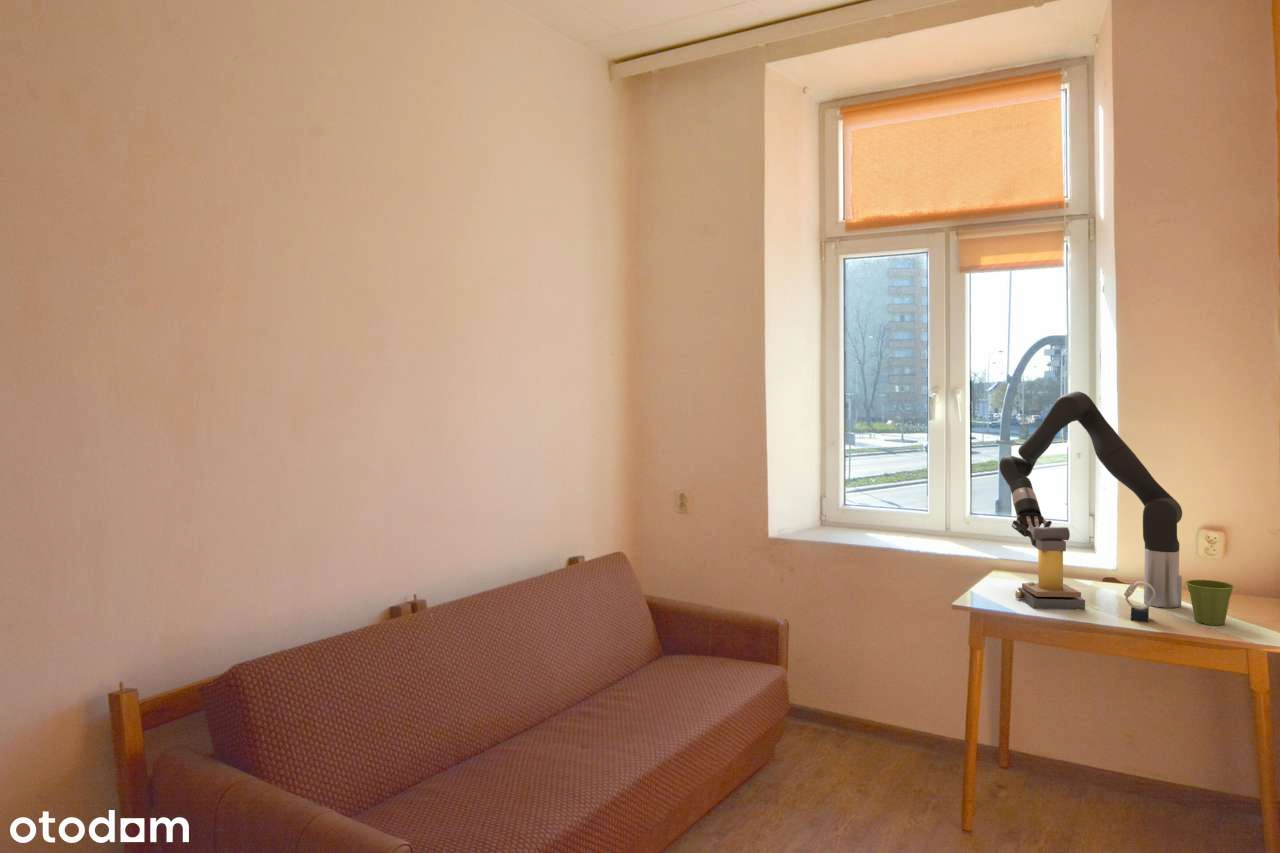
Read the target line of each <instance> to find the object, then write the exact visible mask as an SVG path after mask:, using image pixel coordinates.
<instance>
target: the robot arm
mask: <svg viewBox="0 0 1280 853" xmlns="http://www.w3.org/2000/svg"><path fill="white" fill-rule="evenodd" d="M1076 421H1077V422H1078V423H1079V424H1080V425H1081V426H1082V428H1084V430H1085V431H1086V433H1087V434H1088V436H1089V437H1090V439H1091V443H1092V445H1093V448H1094V449H1093V450H1094V452H1095V454H1096V457H1097V458H1098V460H1099V462H1101V464H1102V465H1103V466H1104V467H1105V469H1106V470H1107V471H1108V473H1109V474H1111V475H1112V476H1113V477H1114V478H1115V479H1117V481H1119V482H1120V483H1121V484H1122V485H1124V486H1125V487H1127V488H1128V489H1129V490H1131V492H1132V493H1133V494H1135V495H1136V497H1137V498H1138V499H1139V500H1140V503H1142V504H1143V506H1144V508H1143V511H1142V539H1143V542H1144V565H1143V566H1144V568H1143V569H1144V570H1143V571H1144V573H1143V574H1144V576H1143V582H1146V583H1148V584H1150V585H1151V586H1152V587H1153V588H1154V590H1155V596H1156V597H1155V600H1154V602H1153V604H1152V605H1151V606H1150V607H1157V608H1165V609H1166V608H1179V607H1182V597H1183V596H1182V595H1183V594H1182V590H1183V588H1182V587H1183V586H1182V585H1183V577H1182V575H1180V542H1179V539H1178V523H1179V522H1180V521H1181V520H1182V517H1183V508H1182V506H1181V505H1180V503H1179V502H1178V501H1177V500H1176V499H1175V498H1174V497H1173V496H1172V495H1171V494H1170V493H1169V492H1168V491H1166V490H1165V488H1163V487H1162V486H1161V485H1160V484H1159V483H1158V482H1157V480H1156V479H1155V478H1154V477H1153V476H1152V475H1151V473H1150V471H1149V470H1148V469H1147V468H1146V466H1145V465H1144V463H1142V462H1141V460H1140V459H1139V458H1138V457H1137V455H1136V454H1135V452H1133V451H1132V449H1131V448H1130V447H1129V445H1128V444H1127V443H1126V442H1125V441H1124V440H1123V439H1122V437H1121V436H1120V435H1119V434H1118V433H1117V432H1116V430H1115V429H1114V428H1113V427H1112V426H1111V425H1110V424H1109V422H1108V421H1107V420H1106V419H1105V417H1104V416H1103V414H1102V413H1101V411H1100V410H1099V408H1098V407H1097V405H1096V404H1095V403H1094V401H1093V400H1092V398H1091V397H1090V396H1089V395H1088V394H1086V393H1084V392H1082V391H1073V392H1069V393H1066V394H1063V395H1060V397H1058V398H1057V399H1056V400H1055V402H1054V404H1053V405H1052V407H1051V408H1050V410H1049V411H1048V413H1047V415H1046V416H1045V417H1044V419H1043V420H1042V422H1041V423H1040V424H1039V425H1038V427H1037V428H1036V429H1035V430H1034V432H1032V433H1031V434H1030V435H1029V436H1028V438H1027V439H1025V441H1024V442H1023V443H1022V444H1021V445H1020V446H1019V448H1018V450H1017V451H1018V455H1019V456H1020V457H1019V456H1018V457H1017V456H1014V455H1011V454H1010V455H1004V456H1003V457H1002V458H1001V459H1000V461H999V467H998V468H999V471H1000V474H1001V476H1002V477H1003V479H1004V480H1005V482H1006V483H1007V485H1008V486H1009V488H1010V492H1011V497H1012V504H1013V506H1014V511H1015V514H1016V517H1017V518H1016V520H1013V521H1012V524H1011V528H1012V529H1014V530H1016V531H1017V533H1019V534H1020V535H1021V536H1023V537H1025V538H1027V537H1028V538H1029V539H1030V541H1031V546H1034V548H1036V540H1033V538H1032V528H1033V527H1052V523H1053V522H1052V521H1051V520H1046V519H1044V518H1045V517H1044V516H1042V513H1041V509H1040V505H1039V503H1038V498H1037V496H1036V493H1035V491H1034V488H1033V485H1032V484H1033V483H1032V482H1031V480H1030V479H1029V476H1030V475H1031V473H1032V471H1033V469H1034V467H1035V465H1036V463H1037V461H1038V459H1039V458H1040V457H1042V455H1043V454H1044V453H1045V452H1046V451H1047V450H1048V449H1049V447H1050V446H1051V444H1052V443H1053V441H1054V439H1055V438H1056V436H1057V434H1058V433H1059V432H1060V431H1062V430H1063V429H1064V428H1065V427H1067V426H1068V425H1069V424H1071V423H1072V422H1076ZM1153 593H1154V592H1153V591H1152V589H1151V588H1150V587H1148V586H1147V585H1144V584H1143V603H1144V604H1145V605H1147V604H1148V603H1149V602H1150V600H1151V598H1152V596H1153Z"/></svg>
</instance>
